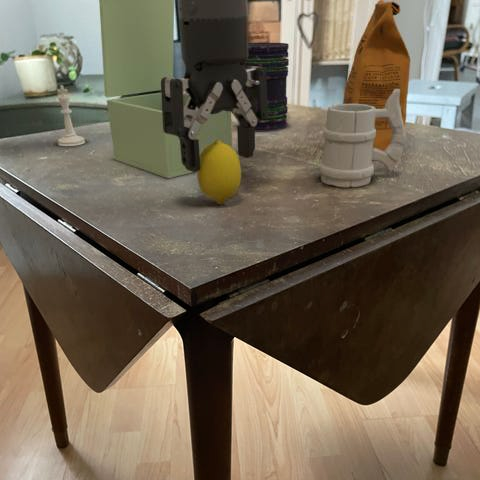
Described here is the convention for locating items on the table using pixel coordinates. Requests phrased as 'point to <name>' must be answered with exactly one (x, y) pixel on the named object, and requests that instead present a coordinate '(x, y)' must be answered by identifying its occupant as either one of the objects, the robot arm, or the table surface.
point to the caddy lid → (136, 45)
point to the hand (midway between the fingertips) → (220, 163)
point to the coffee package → (380, 69)
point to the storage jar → (271, 81)
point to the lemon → (219, 171)
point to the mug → (359, 142)
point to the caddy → (157, 134)
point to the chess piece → (68, 122)
